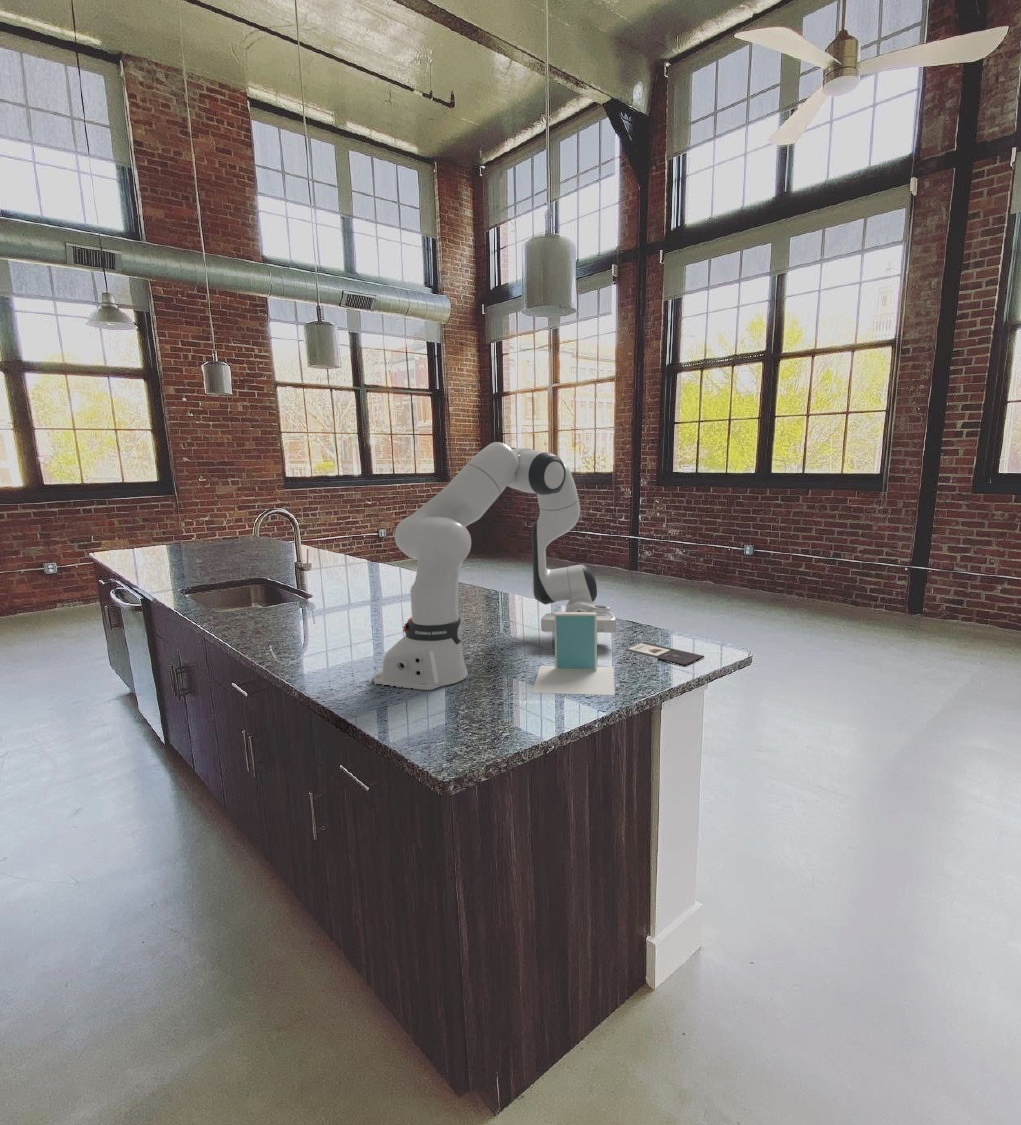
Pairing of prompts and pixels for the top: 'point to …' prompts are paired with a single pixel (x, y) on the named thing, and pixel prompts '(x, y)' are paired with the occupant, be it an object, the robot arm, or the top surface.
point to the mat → (575, 681)
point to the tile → (575, 641)
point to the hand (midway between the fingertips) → (577, 630)
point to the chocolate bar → (666, 653)
